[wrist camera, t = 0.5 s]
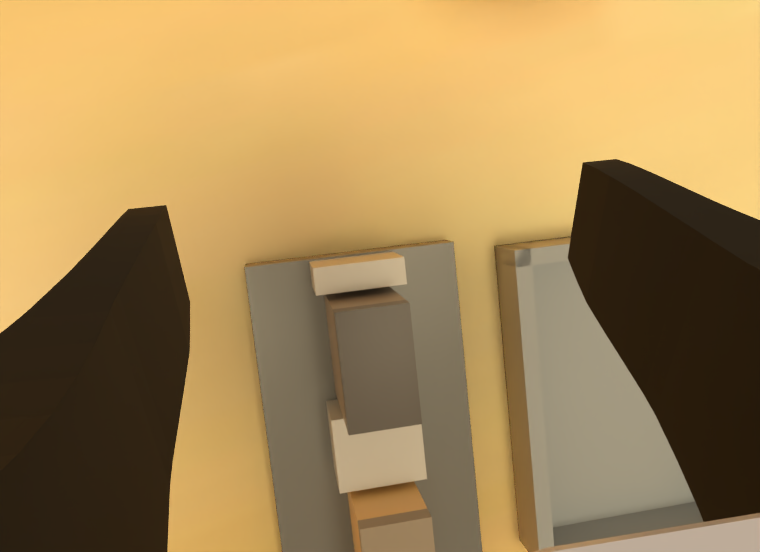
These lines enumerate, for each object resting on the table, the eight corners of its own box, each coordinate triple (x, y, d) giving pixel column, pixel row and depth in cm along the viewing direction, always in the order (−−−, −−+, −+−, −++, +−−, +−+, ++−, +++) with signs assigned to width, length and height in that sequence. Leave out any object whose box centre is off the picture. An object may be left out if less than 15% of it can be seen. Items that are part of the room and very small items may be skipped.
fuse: (414, 556, 35) (443, 628, 29) (356, 566, 35) (373, 642, 29) (404, 462, 35) (431, 516, 29) (345, 471, 34) (359, 529, 28)
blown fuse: (396, 384, 34) (422, 424, 28) (335, 393, 34) (348, 435, 28) (385, 283, 33) (409, 302, 28) (323, 291, 33) (334, 312, 27)
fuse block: (445, 240, 35) (470, 246, 31) (476, 558, 37) (502, 606, 33) (245, 264, 34) (241, 274, 29) (289, 592, 36) (291, 648, 32)
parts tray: (707, 505, 39) (742, 530, 36) (519, 539, 38) (540, 569, 35) (693, 221, 37) (729, 223, 34) (494, 246, 36) (514, 250, 33)
